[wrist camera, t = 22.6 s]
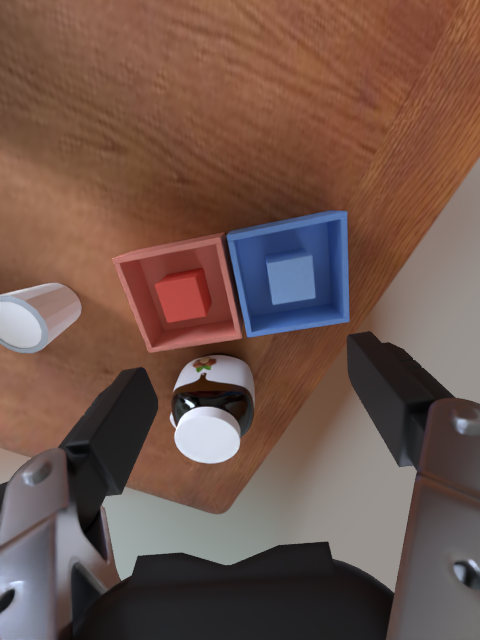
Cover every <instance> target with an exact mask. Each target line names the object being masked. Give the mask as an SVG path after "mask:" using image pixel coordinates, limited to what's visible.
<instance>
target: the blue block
mask: <svg viewBox="0 0 480 640" xmlns="http://www.w3.org/2000/svg"><path fill="white" fill-rule="evenodd" d="M264 258H265V264H266V271H267V277H268V284H269V290H270V295H271V299H272V303H273V305H277V304H283V303H289V302H294V301H300V300H306V299H312V298H316V295H315V282H314V270H313V257H312V255H311V254H310V253H309V252H307V251H306V250H305V249H303V248H302V249H297V250H292V251H287V252H281V253H276V254H271V255H266V256H264Z"/></svg>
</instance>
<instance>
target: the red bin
mask: <svg viewBox="0 0 480 640" xmlns="http://www.w3.org/2000/svg"><path fill="white" fill-rule="evenodd" d="M112 260H113V262H114V265H115V268H116V270H117V273H118V275H119V278H120V280H121V283H122V285H123V288H124V290H125V293H126V296H127V298H128V301H129V303H130V306H131V308H132V311H133V313H134V316H135V319H136V321H137V324H138V326H139V329H140V331H141V334H142V336H143V339H144V341H145V344H146V347H147V348H148V352H149V353H152V352H158V351H165V350H171V349H177V348H184V347H190V346H197V345H203V344H210V343H216V342H223V341H229V340H235V339H242V332H243V317H242V312H241V307H240V302H239V297H238V293H237V288H236V283H235V278H234V273H233V268H232V264H231V259H230V254H229V249H228V244H227V239H226V234H225V232H222V233H217V234H212V235H207V236H202V237H197V238H193V239H188V240H183V241H178V242H173V243H168V244H163V245H158V246H153V247H148V248H143V249H139V250H134V251H131V252H128V253H125V254H123V255H120V256H117V257H115V258H112ZM198 268H203V270H204V273H205V277H206V281H207V285H208V289H209V293H210V297H211V301H212V303H211V306H210V308H209V311H208V313H207V316H206V317H200V318H194V319H188V320H182V321H176V322H171V323H168V322H167V319H166V317H165V314H164V311H163V308H162V305H161V302H160V299H159V296H158V293H157V290H156V287H155V284H156V283H158V282H159V281H160V280H161V279H162V278H164V277H165V276H166V275H167V274H172V273H177V272H182V271H188V270H193V269H198Z"/></svg>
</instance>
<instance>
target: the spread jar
mask: <svg viewBox="0 0 480 640" xmlns="http://www.w3.org/2000/svg"><path fill="white" fill-rule="evenodd" d="M171 408H172V413H171V415H170V421H171V423H172V424H173V426H174V427H175V428H176V432H175V443H176V445H177V447H178V449H179V450H180V451H181V452H182V453H183V454H184V455H185V456H187V457H188V458H190V459H192V460H195V461H198V462H202V463H219V462H223V461H225V460H228V459H229V458H231V457H232V456H233V455H234V454H235V453H236V452H237V451H238V449H239V446H240V438H241V437H242V436H244V435H245V434H246V433H247V431H248V430H249V429H250V427H251V424H252V421H253V417H254V410H255V390H254V381H253V376H252V373H251V370H250V368H249V366H248V365H247V364H246V363H245V362H244V361H243V360H241V359H239V358H237V357H235V356H232V355H228V354H223V353H213V354H208V355H204V356H202V357H199V358H196V359H194V360H193V361H191V362H189V363H188V364H187V365H186V366H185V367H184V368H183V370H182V371H181V373H180V375H179V377H178V380H177V382H176V385H175V387H174V390H173V394H172V401H171Z"/></svg>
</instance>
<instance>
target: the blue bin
mask: <svg viewBox="0 0 480 640" xmlns="http://www.w3.org/2000/svg"><path fill="white" fill-rule="evenodd" d="M227 241H228V245H229V250H230V255H231V260H232V265H233V270H234V275H235V279H236V284H237V289H238V294H239V299H240V304H241V309H242V313H243V318H244V323H245V328H246V333H247V337H255V336H261V335H267V334H274V333H280V332H287V331H293V330H300V329H306V328H313V327H319V326H325V325H332V324H338V323H345V322H349V278H348V234H347V211H333V210H332V211H331V210H330V211H325V212H320V213H315V214H310V215H305V216H301V217H296V218H291V219H286V220H281V221H276V222H271V223H266V224H261V225H256V226H251V227H247V228H242V229H237V230H232V231H230V232H229V233H228V234H227ZM302 248H303V249H305V250H306V251H307V252H309V253H310V254H311V255H312V257H313V270H314V282H315V295H316V298H312V299H306V300H300V301H294V302H289V303H283V304H277V305H273V303H272V299H271V295H270V290H269V284H268V277H267V271H266V264H265V258H264V256H266V255H271V254H276V253H281V252H287V251H292V250H297V249H302Z"/></svg>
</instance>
